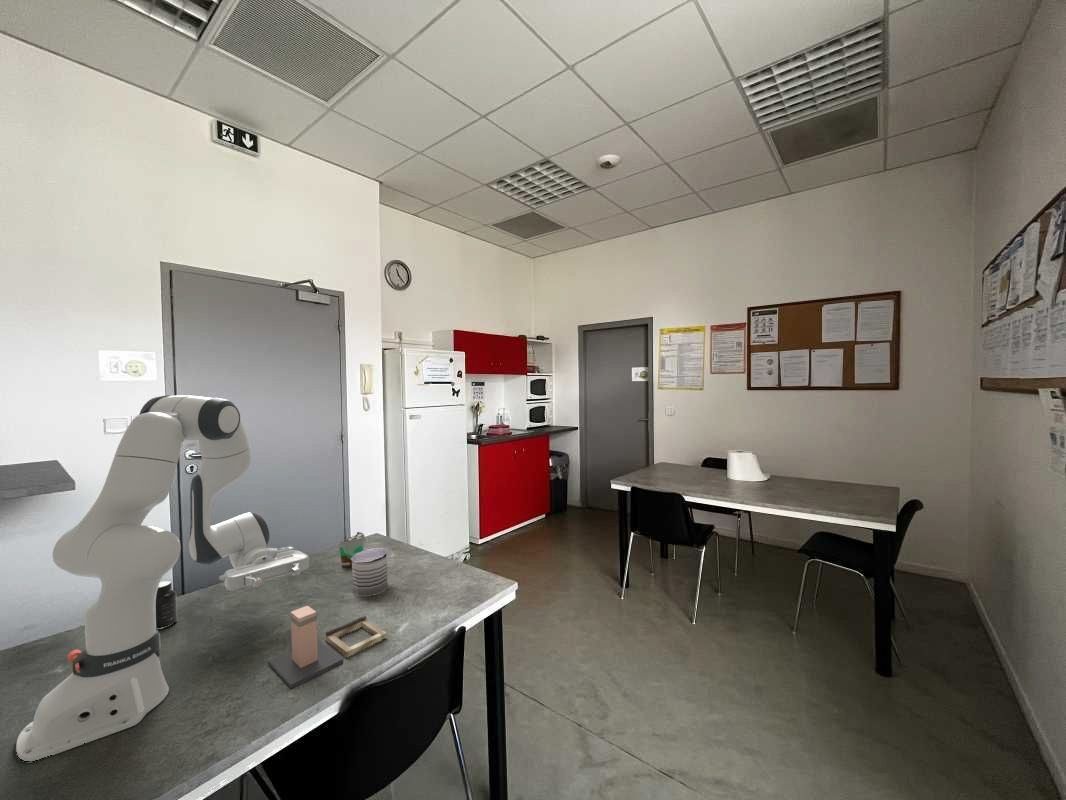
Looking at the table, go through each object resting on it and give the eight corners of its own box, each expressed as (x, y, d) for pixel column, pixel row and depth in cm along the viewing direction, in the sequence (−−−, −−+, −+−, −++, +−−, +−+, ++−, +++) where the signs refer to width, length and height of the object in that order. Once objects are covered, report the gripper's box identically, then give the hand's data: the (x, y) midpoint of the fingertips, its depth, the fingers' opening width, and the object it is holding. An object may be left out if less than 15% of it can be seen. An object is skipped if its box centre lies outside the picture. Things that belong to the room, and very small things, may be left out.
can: (381, 596, 143) (380, 559, 143) (346, 597, 143) (345, 560, 143) (392, 580, 154) (391, 546, 154) (360, 581, 154) (358, 547, 154)
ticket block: (300, 668, 106) (298, 618, 105) (292, 659, 109) (290, 611, 109) (318, 660, 109) (316, 611, 108) (309, 652, 112) (307, 605, 112)
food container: (354, 569, 165) (353, 543, 164) (339, 568, 166) (338, 542, 165) (372, 557, 177) (371, 532, 176) (358, 556, 178) (357, 531, 178)
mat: (290, 688, 100) (290, 684, 100) (268, 663, 109) (267, 660, 109) (342, 662, 109) (342, 659, 109) (317, 641, 118) (317, 638, 118)
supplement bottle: (140, 630, 126) (138, 588, 125) (165, 617, 132) (163, 577, 132) (159, 632, 124) (157, 590, 124) (183, 620, 131) (181, 579, 130)
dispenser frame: (346, 658, 111) (346, 648, 111) (325, 640, 119) (325, 631, 118) (386, 638, 119) (386, 629, 119) (364, 623, 127) (363, 614, 127)
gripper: (216, 564, 119) (232, 578, 110) (297, 545, 135) (317, 555, 125) (217, 588, 119) (232, 603, 110) (297, 565, 135) (317, 577, 125)
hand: (278, 577), depth 118 cm, fingers open, 8 cm apart
